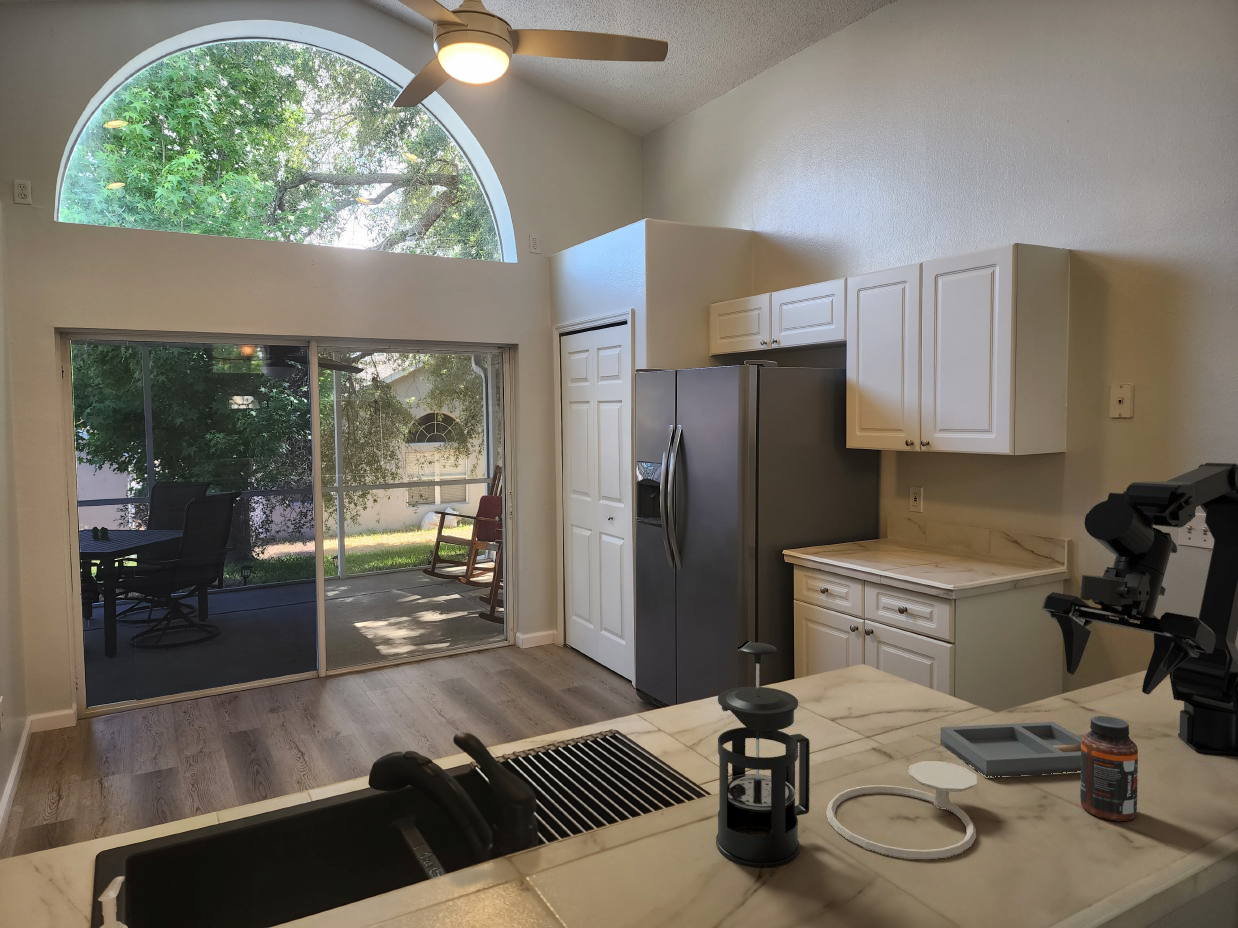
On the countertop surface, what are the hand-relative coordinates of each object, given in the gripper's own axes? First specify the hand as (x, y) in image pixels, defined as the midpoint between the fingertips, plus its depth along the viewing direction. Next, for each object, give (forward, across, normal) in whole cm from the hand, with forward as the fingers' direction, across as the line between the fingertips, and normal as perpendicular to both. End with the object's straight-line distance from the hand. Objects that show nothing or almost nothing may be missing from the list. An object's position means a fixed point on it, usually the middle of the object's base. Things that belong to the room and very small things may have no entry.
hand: (1106, 683), depth 101 cm
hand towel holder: (+26, -9, -16) cm, 32 cm away
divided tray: (+12, -12, +9) cm, 19 cm away
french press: (+34, -14, -34) cm, 50 cm away
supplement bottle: (+15, +3, +3) cm, 16 cm away
